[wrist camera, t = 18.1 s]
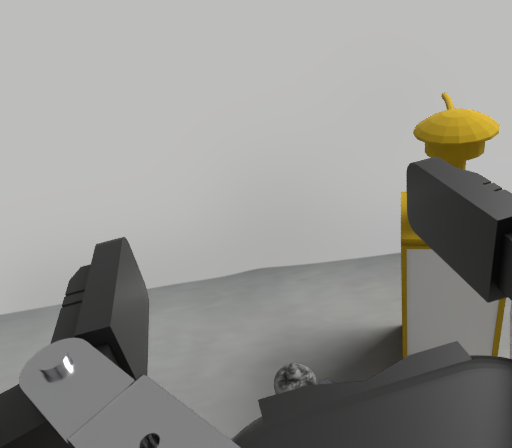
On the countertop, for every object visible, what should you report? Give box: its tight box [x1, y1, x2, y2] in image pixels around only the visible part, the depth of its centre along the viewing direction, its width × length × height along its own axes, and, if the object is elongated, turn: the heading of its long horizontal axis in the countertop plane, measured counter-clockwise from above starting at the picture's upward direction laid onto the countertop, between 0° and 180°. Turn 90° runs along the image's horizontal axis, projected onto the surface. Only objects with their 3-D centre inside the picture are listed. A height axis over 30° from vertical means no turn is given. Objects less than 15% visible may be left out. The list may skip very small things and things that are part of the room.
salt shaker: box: [274, 363, 317, 395], centre depth 30 cm, size 6×6×12 cm
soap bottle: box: [401, 93, 506, 359], centre depth 37 cm, size 7×13×24 cm, turn 165°
